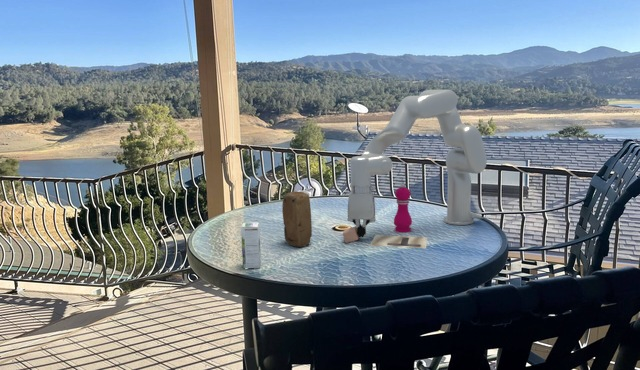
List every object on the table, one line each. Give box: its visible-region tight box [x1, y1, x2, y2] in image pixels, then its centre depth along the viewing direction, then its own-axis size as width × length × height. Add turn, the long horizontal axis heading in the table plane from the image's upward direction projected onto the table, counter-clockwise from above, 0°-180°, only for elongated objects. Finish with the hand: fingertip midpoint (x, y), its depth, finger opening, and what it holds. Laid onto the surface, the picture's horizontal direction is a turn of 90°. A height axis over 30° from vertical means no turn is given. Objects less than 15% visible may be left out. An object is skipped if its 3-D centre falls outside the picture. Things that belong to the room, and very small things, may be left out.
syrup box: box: [240, 221, 262, 269], centre depth 157 cm, size 6×6×14 cm
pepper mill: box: [393, 183, 413, 233], centre depth 188 cm, size 7×7×20 cm
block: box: [281, 190, 313, 248], centre depth 178 cm, size 11×8×20 cm
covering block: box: [342, 225, 360, 244], centre depth 180 cm, size 5×5×4 cm
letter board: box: [370, 234, 428, 249], centre depth 176 cm, size 20×13×1 cm, turn 75°
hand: (361, 236), depth 179 cm, fingers closed
